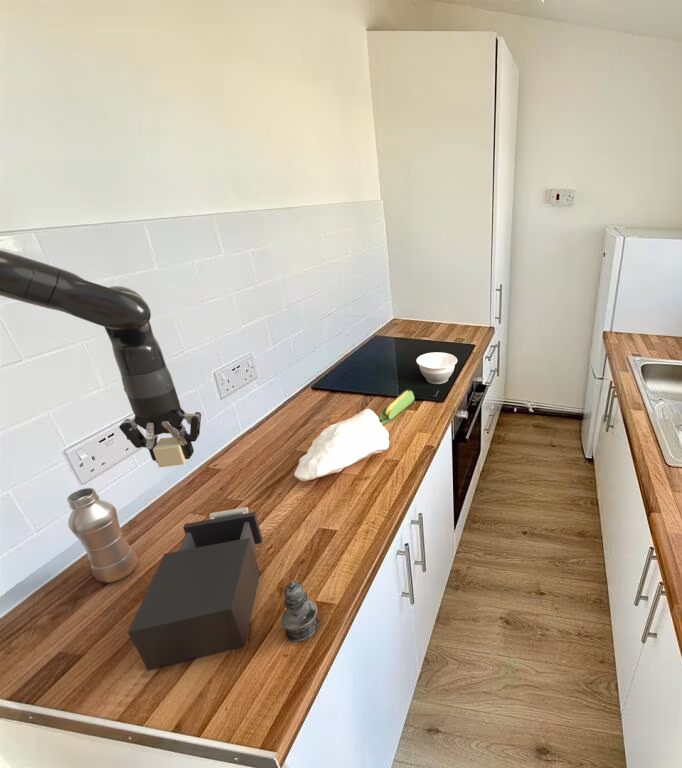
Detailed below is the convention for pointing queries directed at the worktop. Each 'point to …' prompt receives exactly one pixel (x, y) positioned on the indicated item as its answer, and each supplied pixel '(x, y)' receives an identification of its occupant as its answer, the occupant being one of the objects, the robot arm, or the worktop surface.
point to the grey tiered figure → (298, 613)
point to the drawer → (222, 529)
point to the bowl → (437, 366)
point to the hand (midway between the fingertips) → (174, 458)
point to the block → (169, 452)
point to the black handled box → (197, 604)
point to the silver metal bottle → (100, 536)
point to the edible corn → (397, 406)
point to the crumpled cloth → (343, 446)
